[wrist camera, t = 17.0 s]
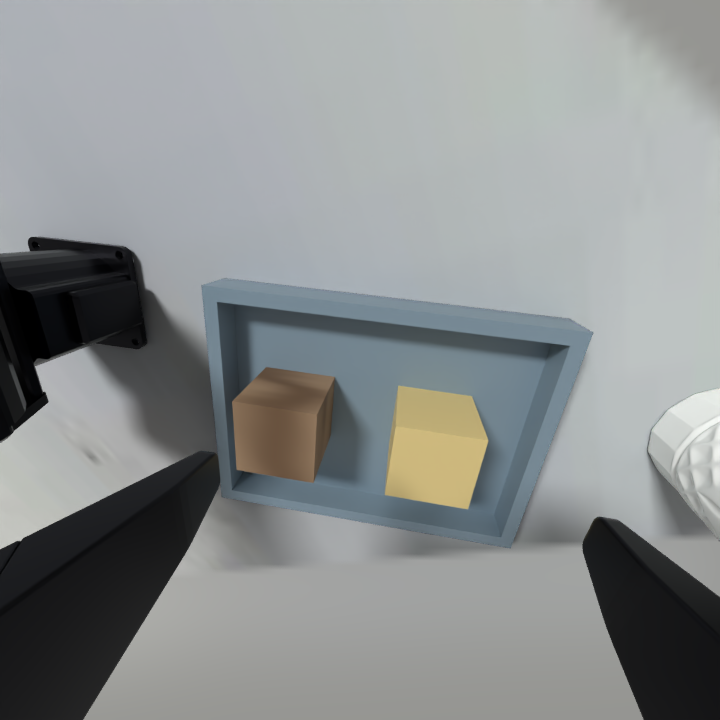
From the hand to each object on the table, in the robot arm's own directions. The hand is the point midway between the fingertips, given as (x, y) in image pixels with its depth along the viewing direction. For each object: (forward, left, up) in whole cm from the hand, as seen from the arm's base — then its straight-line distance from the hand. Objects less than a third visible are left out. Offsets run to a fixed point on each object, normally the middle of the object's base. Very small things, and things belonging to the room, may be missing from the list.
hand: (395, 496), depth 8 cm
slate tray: (-1, -5, -13) cm, 14 cm away
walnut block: (-6, -5, -12) cm, 15 cm away
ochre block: (+2, -5, -12) cm, 14 cm away
